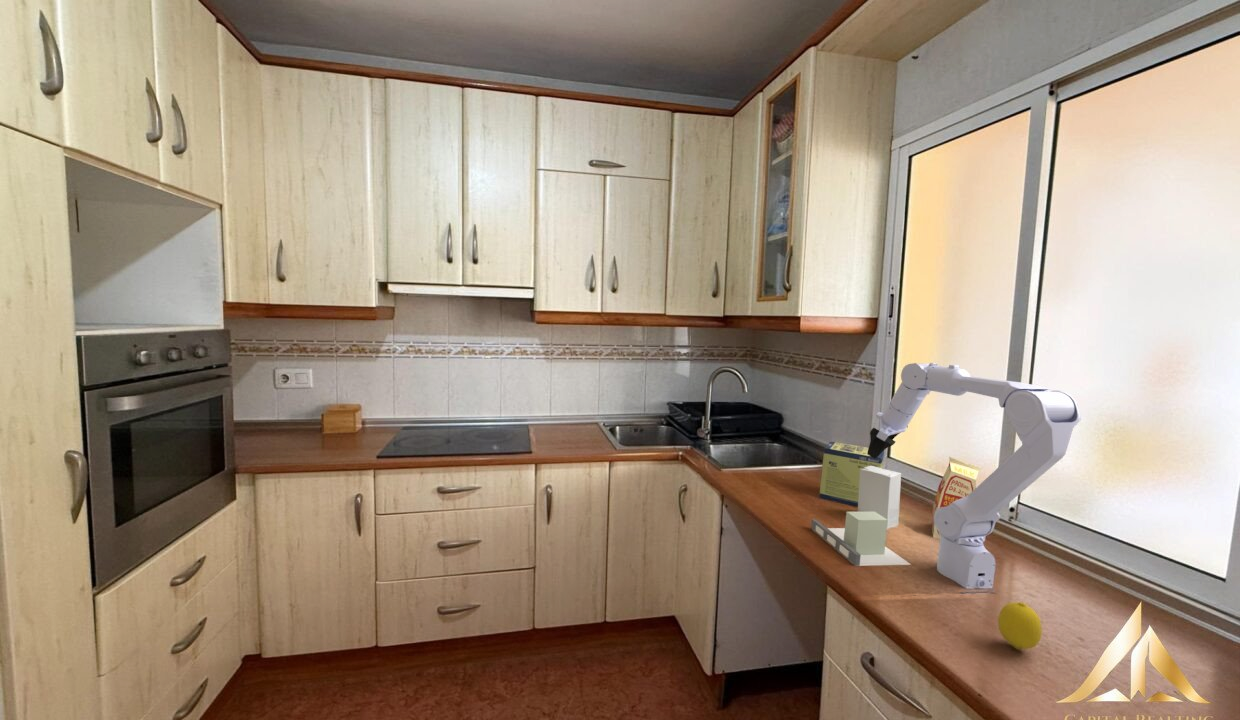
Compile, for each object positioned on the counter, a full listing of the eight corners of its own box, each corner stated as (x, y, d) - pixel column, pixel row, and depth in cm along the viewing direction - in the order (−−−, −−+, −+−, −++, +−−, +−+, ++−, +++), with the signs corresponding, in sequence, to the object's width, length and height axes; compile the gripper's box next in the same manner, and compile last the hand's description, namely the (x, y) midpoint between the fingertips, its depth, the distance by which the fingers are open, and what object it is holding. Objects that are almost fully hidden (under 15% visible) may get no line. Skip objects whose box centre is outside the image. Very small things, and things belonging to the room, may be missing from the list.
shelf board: (910, 569, 106) (912, 553, 106) (853, 571, 104) (855, 554, 104) (858, 532, 124) (860, 518, 123) (809, 533, 122) (811, 519, 121)
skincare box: (898, 529, 127) (904, 473, 125) (885, 534, 124) (891, 476, 122) (866, 517, 134) (872, 464, 132) (854, 521, 130) (859, 467, 129)
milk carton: (933, 537, 123) (942, 459, 121) (929, 524, 131) (938, 451, 129) (977, 547, 119) (987, 466, 117) (971, 533, 127) (980, 457, 125)
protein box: (876, 511, 139) (882, 457, 137) (818, 498, 147) (823, 447, 145) (879, 500, 147) (885, 449, 146) (824, 488, 155) (828, 440, 154)
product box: (884, 554, 110) (888, 519, 109) (855, 555, 109) (858, 520, 108) (870, 543, 115) (873, 510, 114) (842, 544, 114) (845, 510, 113)
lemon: (1018, 638, 84) (1024, 593, 83) (1047, 661, 79) (1054, 613, 78) (987, 637, 84) (992, 592, 83) (1014, 660, 78) (1020, 612, 78)
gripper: (895, 389, 124) (871, 430, 131) (875, 408, 114) (850, 451, 121) (924, 404, 120) (898, 445, 127) (906, 425, 110) (879, 469, 118)
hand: (876, 449), depth 124 cm, fingers open, 7 cm apart
